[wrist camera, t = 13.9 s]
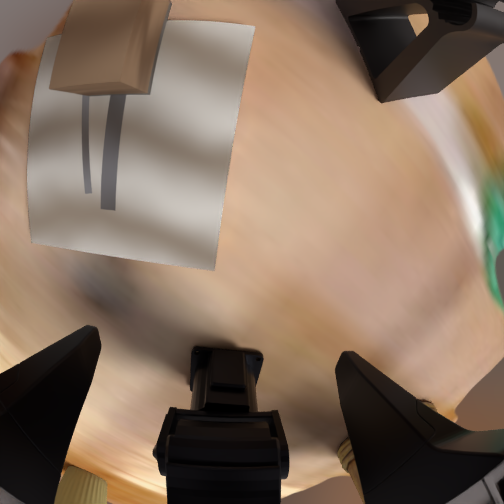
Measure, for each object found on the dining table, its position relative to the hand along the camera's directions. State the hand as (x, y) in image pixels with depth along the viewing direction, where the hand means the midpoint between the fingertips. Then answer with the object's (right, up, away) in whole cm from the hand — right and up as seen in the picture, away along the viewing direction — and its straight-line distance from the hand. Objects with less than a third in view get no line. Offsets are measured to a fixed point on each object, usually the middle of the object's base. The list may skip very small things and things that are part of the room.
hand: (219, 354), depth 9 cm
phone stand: (+12, +19, +5) cm, 23 cm away
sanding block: (-7, +17, +4) cm, 19 cm away
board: (-8, +11, +7) cm, 16 cm away
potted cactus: (-41, -54, +34) cm, 76 cm away
